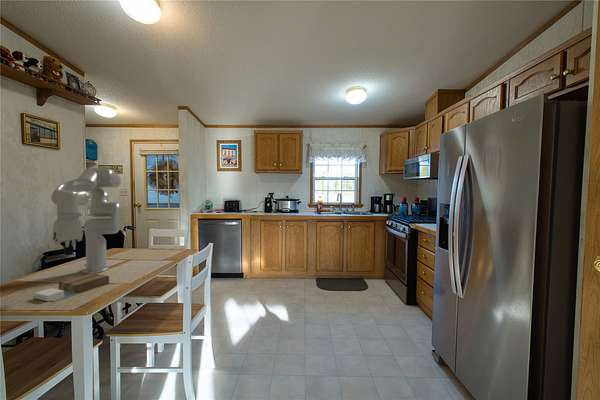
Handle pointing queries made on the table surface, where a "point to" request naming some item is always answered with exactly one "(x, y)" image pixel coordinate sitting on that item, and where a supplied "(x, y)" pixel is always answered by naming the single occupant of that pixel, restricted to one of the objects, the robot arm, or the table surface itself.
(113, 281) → the table surface
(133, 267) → the table surface
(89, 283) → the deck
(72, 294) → the mat
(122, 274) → the table surface
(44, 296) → the white rectangular block
